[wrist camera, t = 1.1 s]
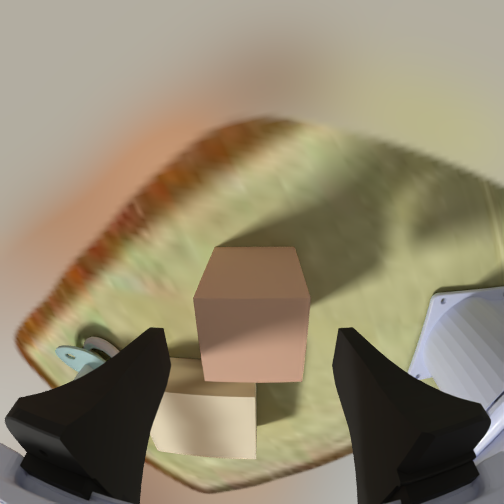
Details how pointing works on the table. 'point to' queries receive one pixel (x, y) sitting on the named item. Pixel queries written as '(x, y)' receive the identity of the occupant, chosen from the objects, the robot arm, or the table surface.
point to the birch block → (205, 415)
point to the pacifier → (86, 355)
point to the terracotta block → (252, 315)
